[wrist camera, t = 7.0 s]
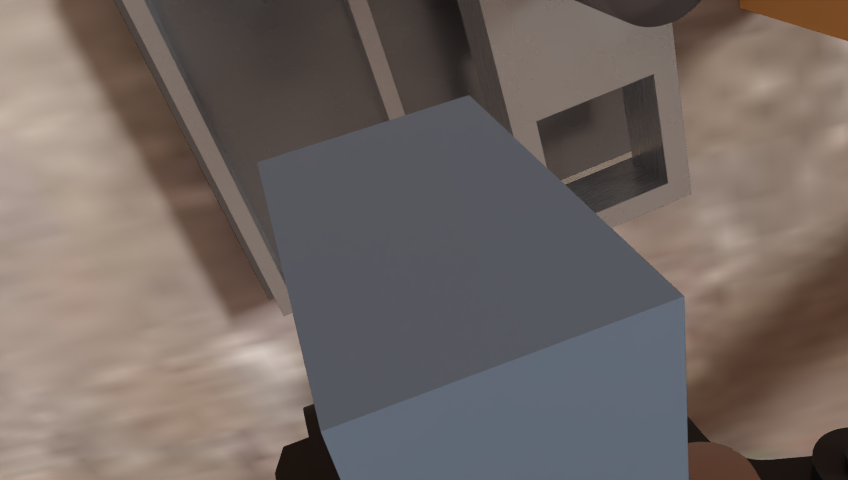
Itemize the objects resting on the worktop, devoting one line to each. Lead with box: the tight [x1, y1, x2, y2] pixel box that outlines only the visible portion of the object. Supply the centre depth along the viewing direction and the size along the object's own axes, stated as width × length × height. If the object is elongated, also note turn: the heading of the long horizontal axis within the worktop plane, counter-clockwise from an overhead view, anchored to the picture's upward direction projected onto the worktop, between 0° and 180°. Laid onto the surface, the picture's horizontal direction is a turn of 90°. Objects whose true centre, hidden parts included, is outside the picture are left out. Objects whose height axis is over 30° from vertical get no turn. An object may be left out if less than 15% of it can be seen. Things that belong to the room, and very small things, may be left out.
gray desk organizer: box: [114, 0, 701, 316], centre depth 27 cm, size 16×20×14 cm
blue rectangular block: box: [257, 95, 689, 480], centre depth 12 cm, size 4×10×6 cm, turn 13°
